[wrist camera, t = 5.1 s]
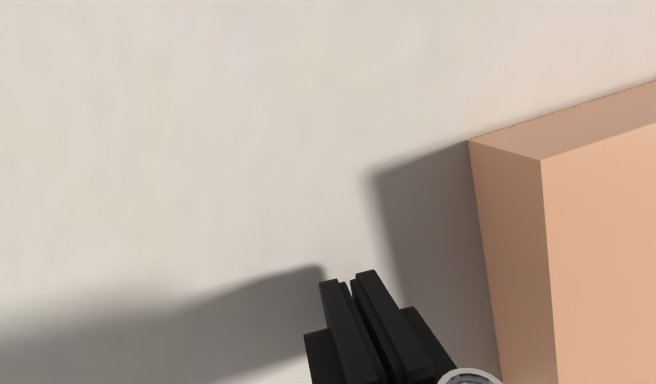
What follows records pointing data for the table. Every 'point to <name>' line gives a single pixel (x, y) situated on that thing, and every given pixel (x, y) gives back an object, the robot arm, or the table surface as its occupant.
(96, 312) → the table surface
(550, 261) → the peach tile
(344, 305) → the robot arm
